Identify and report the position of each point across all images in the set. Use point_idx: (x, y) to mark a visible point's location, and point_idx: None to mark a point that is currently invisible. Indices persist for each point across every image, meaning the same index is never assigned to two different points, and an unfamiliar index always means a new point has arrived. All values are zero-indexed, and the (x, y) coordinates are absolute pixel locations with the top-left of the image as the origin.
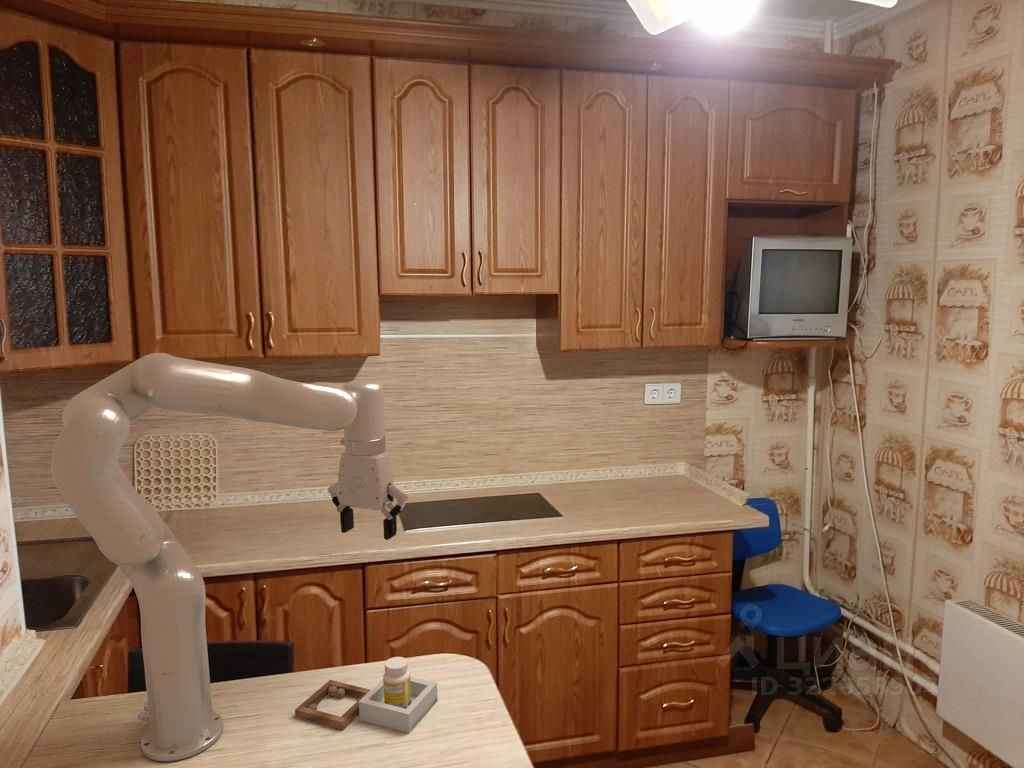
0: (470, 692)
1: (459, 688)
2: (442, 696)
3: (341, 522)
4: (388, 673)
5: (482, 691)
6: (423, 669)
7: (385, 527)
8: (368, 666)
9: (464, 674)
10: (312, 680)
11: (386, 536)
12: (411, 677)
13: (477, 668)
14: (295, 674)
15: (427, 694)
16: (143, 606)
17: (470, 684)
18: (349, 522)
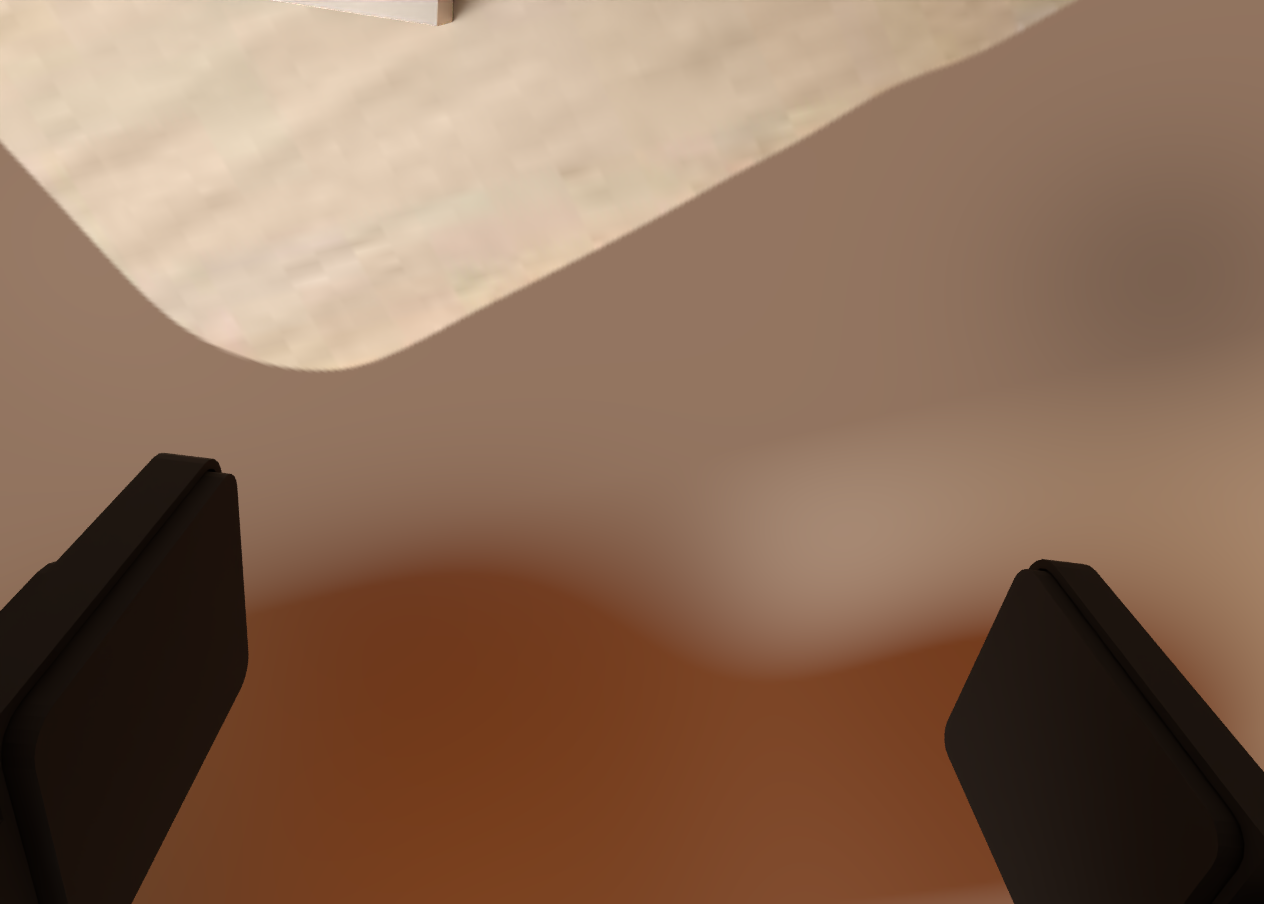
0: (70, 96)
1: (139, 117)
2: (176, 27)
3: (1173, 678)
4: None
5: (22, 119)
6: (387, 232)
7: (55, 589)
8: (651, 194)
9: (184, 238)
10: (873, 3)
11: (138, 477)
12: (294, 1)
13: (156, 299)
14: (980, 35)
15: None
16: None
17: (110, 163)
18: (1027, 757)
